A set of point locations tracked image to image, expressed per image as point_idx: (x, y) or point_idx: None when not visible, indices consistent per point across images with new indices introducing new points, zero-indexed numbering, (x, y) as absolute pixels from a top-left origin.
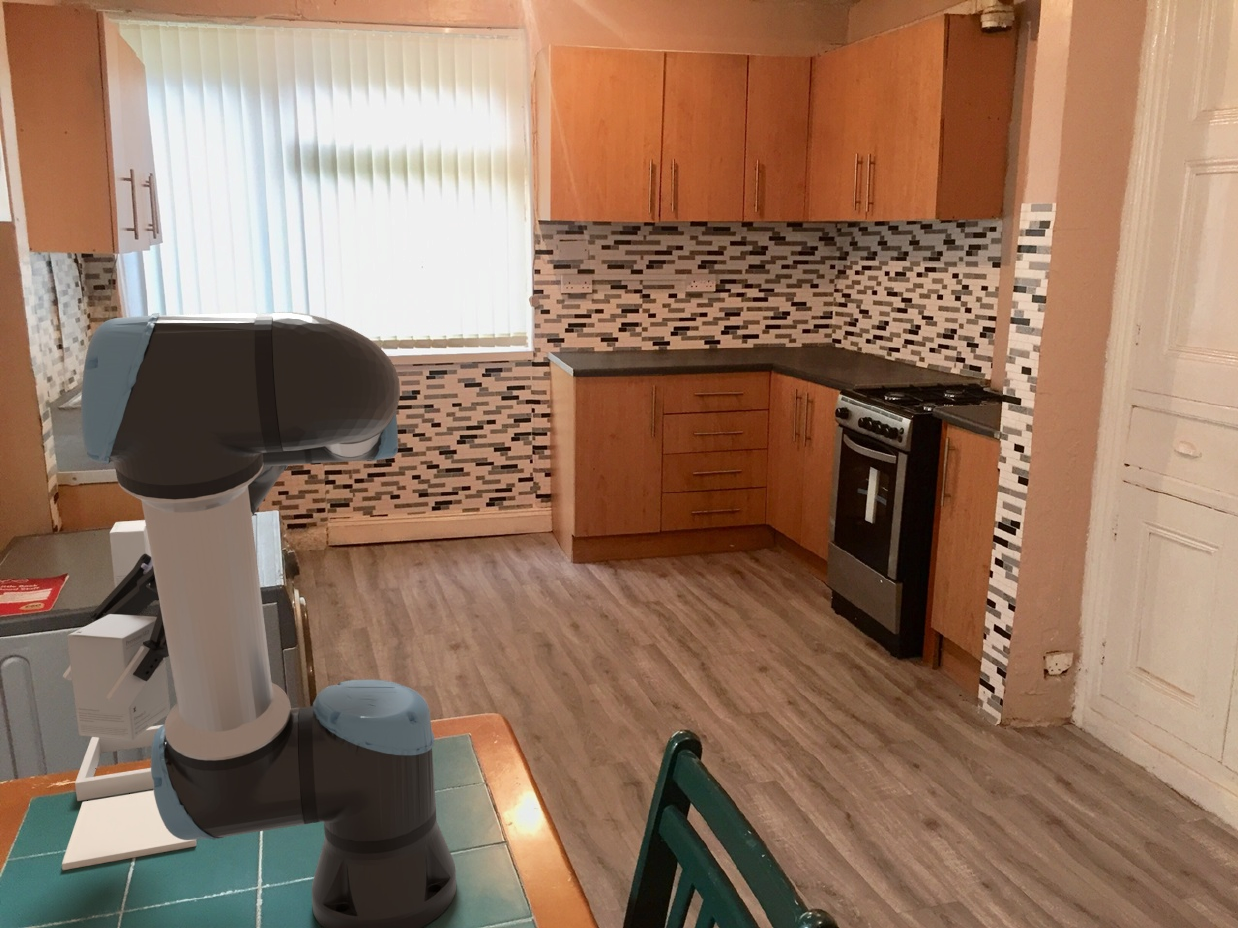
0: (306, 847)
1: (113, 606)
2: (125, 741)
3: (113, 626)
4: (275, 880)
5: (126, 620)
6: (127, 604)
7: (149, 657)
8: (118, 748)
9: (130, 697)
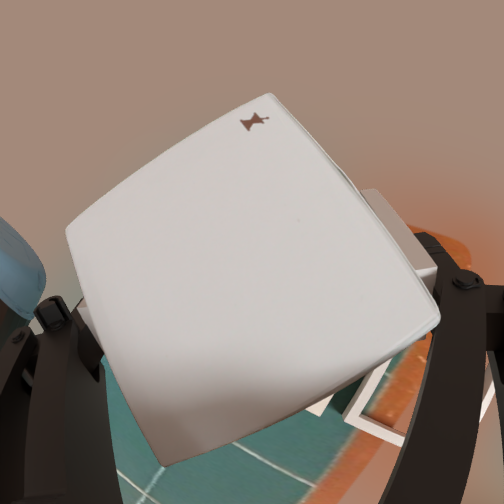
0: (123, 408)
1: (483, 353)
2: (487, 378)
3: (194, 248)
4: (103, 359)
5: (229, 334)
6: (414, 419)
7: (77, 310)
8: (487, 369)
9: None
